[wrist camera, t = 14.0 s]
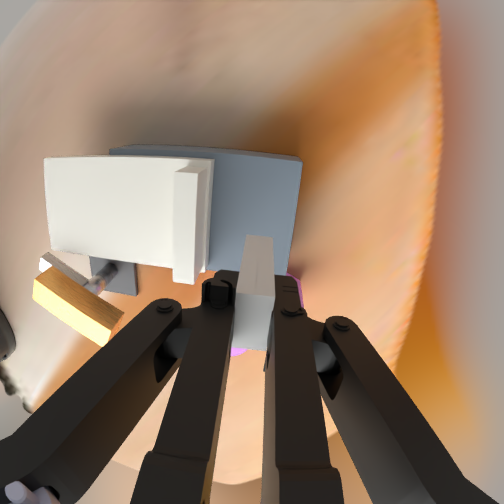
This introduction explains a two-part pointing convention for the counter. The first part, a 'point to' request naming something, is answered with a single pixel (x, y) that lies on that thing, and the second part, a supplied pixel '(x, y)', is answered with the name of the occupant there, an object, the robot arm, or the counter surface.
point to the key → (78, 298)
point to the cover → (132, 209)
